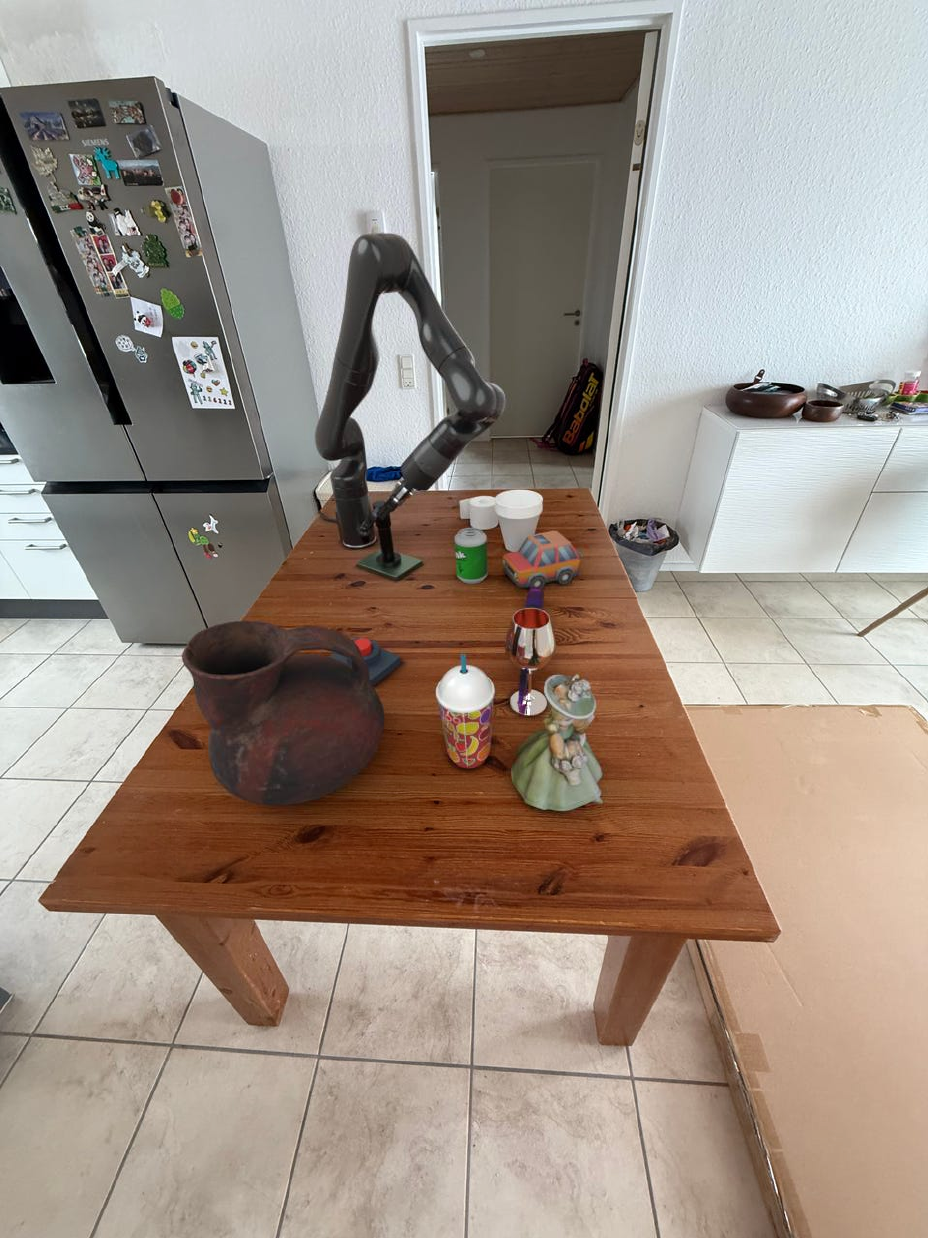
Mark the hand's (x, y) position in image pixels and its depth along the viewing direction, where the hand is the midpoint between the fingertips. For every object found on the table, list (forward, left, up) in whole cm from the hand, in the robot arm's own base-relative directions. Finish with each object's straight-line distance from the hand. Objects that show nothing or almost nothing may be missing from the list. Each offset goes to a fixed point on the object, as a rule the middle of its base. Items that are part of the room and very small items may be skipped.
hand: (380, 516), depth 114 cm
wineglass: (+48, -17, -18) cm, 54 cm away
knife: (+42, -6, -18) cm, 46 cm away
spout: (-4, +2, -6) cm, 8 cm away
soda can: (+15, +13, -18) cm, 27 cm away
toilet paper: (-2, +41, -18) cm, 45 cm away
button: (+16, -25, -15) cm, 33 cm away
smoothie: (+46, -32, -18) cm, 59 cm away
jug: (+26, -47, -18) cm, 57 cm away
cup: (+16, +33, -18) cm, 41 cm away
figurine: (+60, -30, -18) cm, 70 cm away
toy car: (+29, +22, -18) cm, 41 cm away
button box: (+16, -25, -18) cm, 35 cm away
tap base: (-7, +7, -18) cm, 20 cm away
